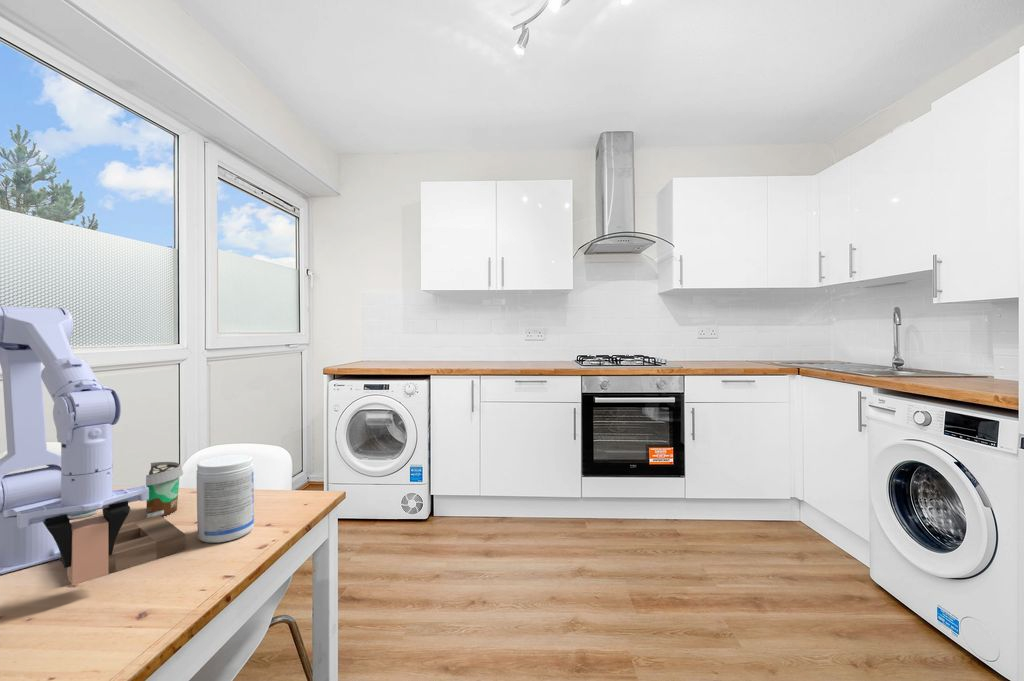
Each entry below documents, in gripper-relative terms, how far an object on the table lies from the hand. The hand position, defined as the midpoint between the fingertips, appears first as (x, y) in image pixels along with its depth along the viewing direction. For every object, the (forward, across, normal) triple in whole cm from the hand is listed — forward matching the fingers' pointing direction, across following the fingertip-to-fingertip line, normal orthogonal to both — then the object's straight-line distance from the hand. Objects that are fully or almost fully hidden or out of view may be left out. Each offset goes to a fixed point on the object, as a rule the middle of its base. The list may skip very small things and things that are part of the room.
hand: (87, 559), depth 70 cm
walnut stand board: (+5, +7, +12) cm, 15 cm away
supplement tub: (+6, +22, +7) cm, 23 cm away
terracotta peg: (+2, 0, 0) cm, 2 cm away
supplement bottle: (+6, +6, +42) cm, 43 cm away
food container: (+6, +18, +30) cm, 35 cm away
